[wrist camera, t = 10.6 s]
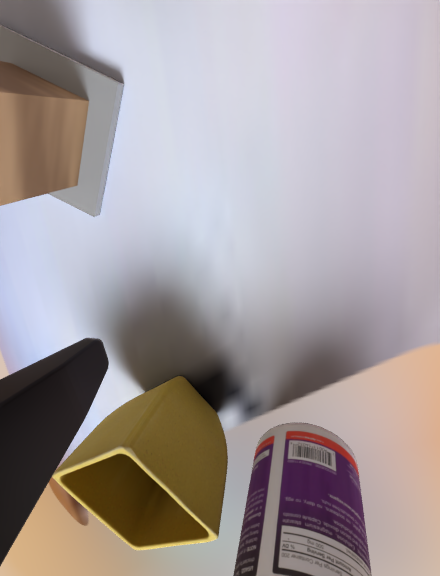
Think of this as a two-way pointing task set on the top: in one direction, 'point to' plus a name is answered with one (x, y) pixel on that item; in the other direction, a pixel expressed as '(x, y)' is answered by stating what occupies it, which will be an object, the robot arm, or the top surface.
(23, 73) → the walnut block
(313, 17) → the top surface
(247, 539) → the pill bottle
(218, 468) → the flower pot
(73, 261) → the top surface
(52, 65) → the slate tile
